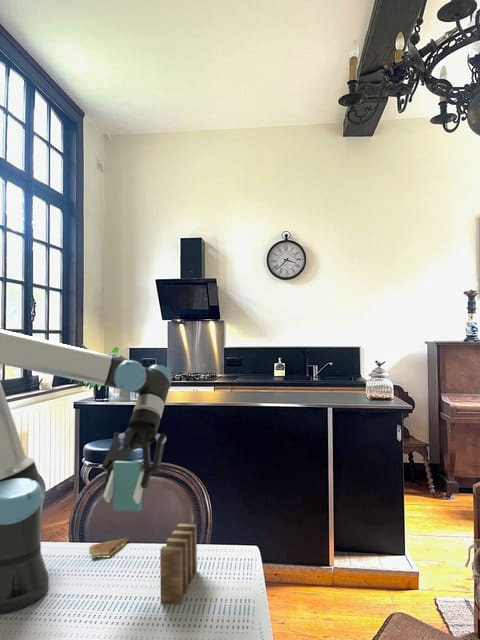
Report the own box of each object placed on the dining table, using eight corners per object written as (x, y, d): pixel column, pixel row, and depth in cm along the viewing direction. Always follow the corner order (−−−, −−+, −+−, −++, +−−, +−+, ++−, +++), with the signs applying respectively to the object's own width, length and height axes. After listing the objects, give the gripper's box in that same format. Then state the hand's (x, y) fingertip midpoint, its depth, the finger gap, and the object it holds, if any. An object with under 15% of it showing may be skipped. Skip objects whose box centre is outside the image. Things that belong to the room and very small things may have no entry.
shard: (129, 542, 123) (129, 535, 124) (135, 553, 117) (135, 546, 117) (88, 551, 119) (88, 544, 119) (92, 563, 112) (92, 556, 112)
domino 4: (166, 592, 98) (166, 541, 98) (168, 588, 99) (168, 537, 100) (185, 593, 97) (185, 542, 98) (187, 589, 99) (187, 539, 99)
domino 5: (160, 602, 94) (160, 549, 94) (163, 598, 95) (162, 546, 96) (180, 604, 93) (180, 550, 94) (182, 599, 95) (182, 547, 95)
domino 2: (177, 573, 106) (176, 526, 106) (179, 570, 107) (178, 523, 108) (195, 574, 105) (194, 527, 105) (196, 571, 106) (196, 524, 107)
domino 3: (172, 582, 102) (171, 533, 102) (174, 578, 103) (173, 530, 104) (190, 583, 101) (190, 534, 101) (192, 580, 102) (192, 531, 103)
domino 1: (113, 510, 104) (113, 462, 104) (116, 507, 105) (116, 460, 106) (139, 511, 103) (139, 463, 103) (141, 508, 104) (141, 461, 105)
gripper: (185, 424, 118) (165, 509, 101) (116, 423, 121) (86, 505, 104) (179, 407, 113) (158, 493, 97) (108, 406, 116) (75, 490, 99)
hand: (121, 499), depth 100 cm, fingers closed on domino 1, 6 cm apart
